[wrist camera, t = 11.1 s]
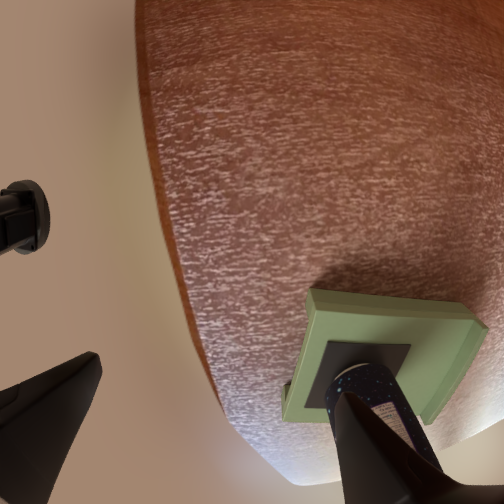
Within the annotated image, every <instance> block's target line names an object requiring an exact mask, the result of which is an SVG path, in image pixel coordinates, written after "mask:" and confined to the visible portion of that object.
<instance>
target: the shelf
mask: <svg viewBox="0 0 504 504" xmlns="http://www.w3.org/2000/svg"><path fill="white" fill-rule="evenodd" d="M305 307H306V311H307V315H308V319H309V322H308V326H307V330H306V334H305V337H304V341H303V345H302V348H301V352H300V355H299V359H298V362H297V366H296V369H295V372H294V376H293V379H292V382H291V385H284V387H283V391H282V394H281V404H282V421H283V422H306V423H330V421H329V417H328V413H327V410H326V406H325V403H324V396H325V393H326V390H327V389H328V387H329V386H330V385H331V383H332V382H333V381H334V380H335V378H336V377H337V376H338V375H339V374H340V373H342V372H343V371H344V370H346V369H348V368H350V367H352V366H355V365H358V364H381V365H384V366H386V367H388V368H389V369H390V370H391V372H392V374H393V375H394V377H395V379H396V381H397V382H398V384H399V386H400V388H401V390H402V391H403V393H404V395H405V397H406V399H407V401H408V402H409V404H410V406H411V408H412V410H413V412H414V414H415V415H416V416H418V415H420V417H421V419H422V421H423V423H424V425H430V424H432V423H433V421H434V420H435V419H436V417H437V416H438V415H439V413H440V412H441V411H442V409H443V408H444V406H445V405H446V404H447V402H448V401H449V399H450V398H451V396H452V395H453V393H454V392H455V390H456V389H457V387H458V385H459V384H460V382H461V381H462V379H463V377H464V376H465V374H466V372H467V371H468V369H469V367H470V365H471V364H472V362H473V360H474V358H475V356H476V354H477V353H478V351H479V349H480V347H481V345H482V343H483V341H484V339H485V337H486V335H487V333H488V330H489V328H488V327H487V326H486V325H485V324H484V323H483V322H482V321H481V320H480V319H479V318H478V317H476V316H475V315H474V314H473V313H472V312H471V311H470V310H469V309H468V308H467V307H466V306H464V305H463V304H462V303H460V302H447V301H434V300H422V299H411V298H400V297H389V296H379V295H369V294H360V293H350V292H341V291H332V290H324V289H315V288H309V290H308V295H307V299H306V303H305Z"/></svg>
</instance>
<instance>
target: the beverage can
mask: <svg viewBox="0 0 504 504" xmlns="http://www.w3.org/2000/svg"><path fill="white" fill-rule="evenodd" d="M343 392H354V393H355V394H356V395H357V396H358V397H359V398H360V399H361V400H362V401H363V402H364V403H365V404H366V405H368V406H369V407H370V408H371V409H372V410H373V411H374V412H375V413H376V414H377V415H378V416H379V417H380V418H381V419H382V420H383V421H384V422H385V423H386V424H387V425H388V426H389V427H391V428H392V429H393V430H394V431H395V432H396V433H397V434H398V435H399V436H400V437H401V438H402V439H403V440H404V441H405V442H407V443H408V444H409V445H410V448H411V447H412V448H413V449H414V450H415V451H416V452H417V453H419V454H420V455H421V456H422V457H423V458H424V459H426V460H427V461H428V462H429V463H431V464H432V465H433V466H435V467H436V468H437V469H439V470H440V471H442V472H443V470H442V468H441V466H440V464H439V461H438V459H437V457H436V455H435V453H434V451H433V449H432V447H431V445H430V443H429V441H428V439H427V437H426V435H425V433H424V431H423V429H422V427H421V425H420V423H419V421H418V419H417V417H416V415H415V414H414V412H413V410H412V408H411V406H410V404H409V402H408V401H407V399H406V397H405V395H404V393H403V391H402V390H401V388H400V386H399V384H398V382H397V381H396V379H395V377H394V375H393V374H392V372H391V370H390V369H389V368H388V367H386V366H384V365H381V364H358V365H355V366H352V367H350V368H348V369H346V370H344V371H343V372H342V373H340V374H339V375H338V376H337V377H336V378H335V380H334V381H333V382H332V383H331V385H330V386H329V387H328V389H327V390H326V393H325V396H324V403H325V406H326V410H327V413H328V417H329V421H330V425H331V428H332V432H333V436H334V440H335V443H336V431H335V412H334V411H335V406H336V404H337V402H338V400H339V398H340V396H341V394H342V393H343Z"/></svg>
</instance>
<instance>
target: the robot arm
mask: <svg viewBox="0 0 504 504" xmlns="http://www.w3.org/2000/svg"><path fill="white" fill-rule="evenodd" d="M15 248H18V249H22V250H27V251H31V252H35V251H37V249H38V244H37V233H36V217H35V192H34V190H33V189H2V190H1V192H0V255H2V254H4V253H6V252H9V251H11V250H12V249H15ZM101 376H102V366H101V362H100V358H99V355H98V354H97V353H94V352H90V351H88V352H86V353H84V354H81V355H79V356H77V357H75V358H73V359H71V360H69V361H67V362H65V363H63V364H60V365H58V366H56V367H54V368H52V369H49V370H47V371H45V372H43V373H41V374H39V375H36V376H34V377H32V378H30V379H28V380H25V381H23V382H21V383H20V384H17V385H14V386H12V387H10V388H8V389H5V390H2V391H0V504H47V503H48V500H49V497H50V495H51V492H52V490H53V487H54V484H55V482H56V479H57V477H58V475H59V472H60V470H61V467H62V465H63V463H64V461H65V458H66V456H67V454H68V451H69V449H70V447H71V445H72V443H73V441H74V438H75V436H76V434H77V432H78V430H79V428H80V426H81V424H82V422H83V420H84V417H85V416H86V414H87V411H88V410H89V407H90V405H91V403H92V400H93V397H94V395H95V392H96V389H97V387H98V384H99V381H100V379H101ZM334 412H335V431H336V447H337V453H338V459H339V465H340V472H341V478H342V484H343V492H344V499H345V504H504V485H487V486H486V485H484V486H483V485H464V484H461V483H459V482H457V481H455V480H453V479H452V478H450V477H449V476H447V475H446V474H444V473H443V472H442V471H440V470H439V469H437V468H436V467H435V466H433V465H432V464H431V463H429V462H428V461H427V460H426V459H424V458H423V457H422V456H421V455H420V454H419V453H417V452H416V451H415V450H414V449H413V448H412V447H411V448H410V445H409V444H408V443H407V442H405V441H404V440H403V439H402V438H401V437H400V436H399V435H398V434H397V433H396V432H395V431H394V430H393V429H392V428H391V427H389V426H388V425H387V424H386V423H385V422H384V421H383V420H382V419H381V418H380V417H379V416H378V415H377V414H376V413H375V412H374V411H373V410H372V409H371V408H370V407H369V406H368V405H366V404H365V403H364V402H363V401H362V400H361V399H360V398H359V397H358V396H357V395H356V394H355V393H354V392H343V393H342V394H341V396H340V398H339V400H338V402H337V404H336V406H335V411H334Z"/></svg>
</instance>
